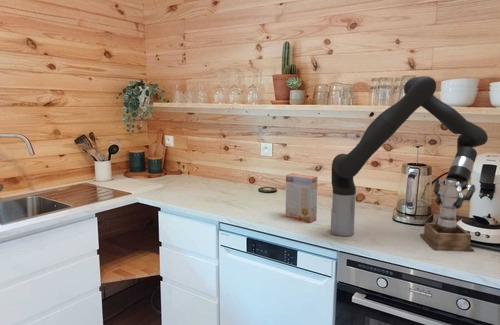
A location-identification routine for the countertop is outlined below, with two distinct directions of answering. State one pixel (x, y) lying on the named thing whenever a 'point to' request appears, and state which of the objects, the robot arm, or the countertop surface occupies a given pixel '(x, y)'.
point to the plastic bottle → (448, 206)
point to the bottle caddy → (446, 238)
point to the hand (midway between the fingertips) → (447, 205)
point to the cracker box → (301, 197)
